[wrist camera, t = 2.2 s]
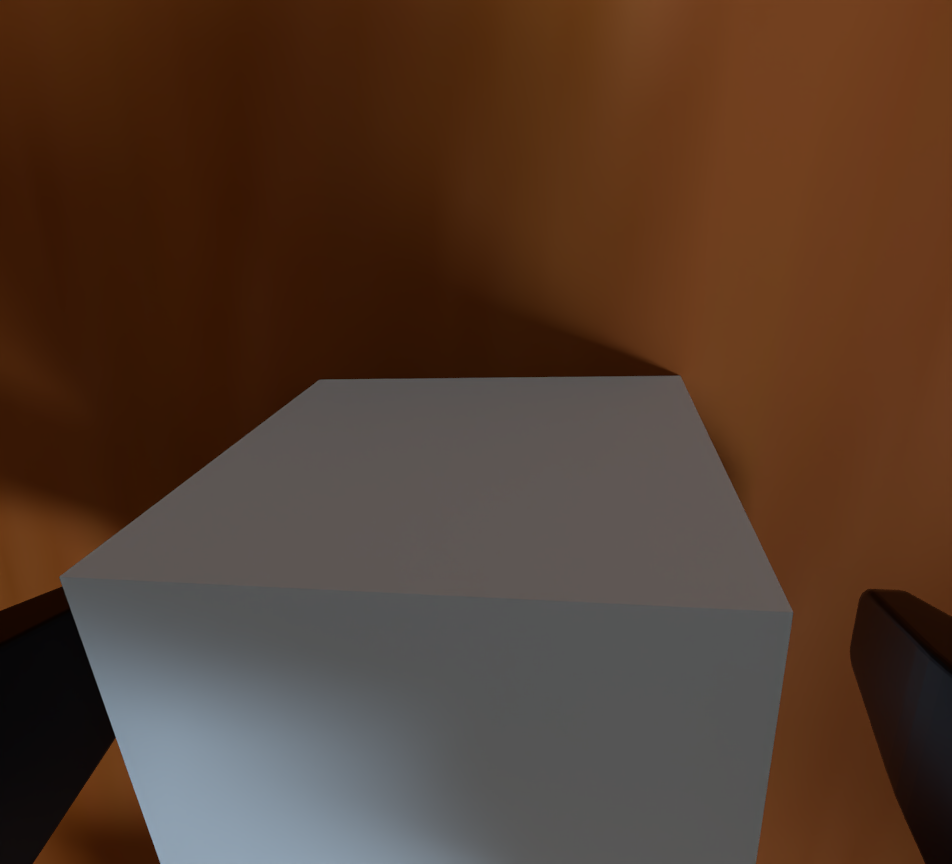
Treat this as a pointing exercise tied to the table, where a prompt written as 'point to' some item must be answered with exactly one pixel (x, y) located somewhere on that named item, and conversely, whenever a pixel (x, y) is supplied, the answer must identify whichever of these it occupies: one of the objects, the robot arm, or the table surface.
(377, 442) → the bluish grey cube
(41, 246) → the table surface
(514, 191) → the table surface
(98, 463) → the table surface
